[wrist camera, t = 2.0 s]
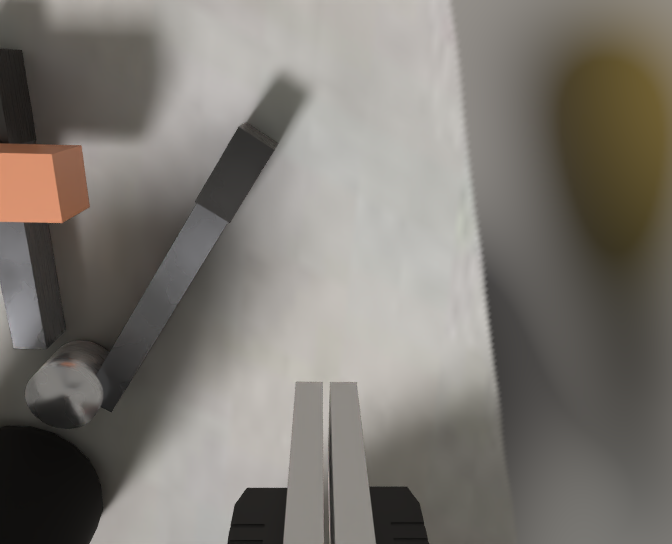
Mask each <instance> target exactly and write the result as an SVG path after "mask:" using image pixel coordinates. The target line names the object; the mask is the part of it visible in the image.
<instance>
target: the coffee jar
mask: <svg viewBox="0 0 672 544" xmlns="http://www.w3.org/2000/svg"><path fill="white" fill-rule="evenodd" d="M102 511H103V502H102V493H101V485H100V483H99V480H98V476H97V474H96V472H95V470H94V468H93V466H92V464H91V463H90V461H89V459H88V458H87V457H86V456H85V455H84V454H83V453H82V452H81V451H80V450H79V449H78V448H77V447H76V446H75V445H73V444H72V443H70V442H68V441H67V440H65V439H63V438H61V437H60V436H58V435H56V434H54V433H51V432H48V431H44V430H41V429H37V428H34V427H21V426H6V427H2V428H1V427H0V544H89V543H90V541H91V539H92V537H93V535H94V533H95V531H96V529H97V527H98V523H99V520H100V517H101V514H102Z"/></svg>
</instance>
